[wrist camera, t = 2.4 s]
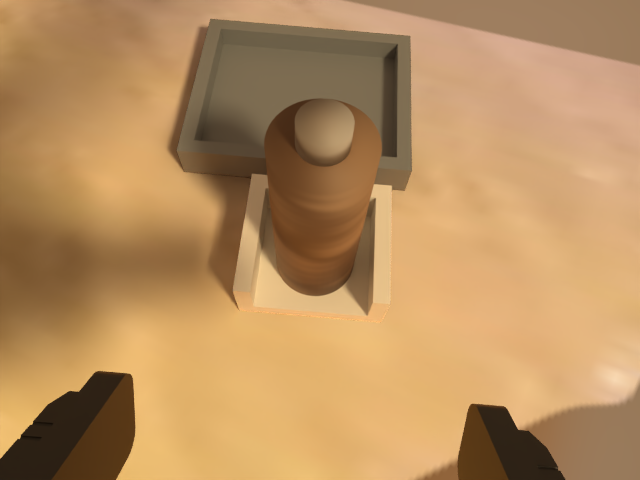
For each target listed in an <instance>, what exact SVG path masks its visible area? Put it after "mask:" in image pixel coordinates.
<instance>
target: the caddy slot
mask: <svg viewBox="0 0 640 480" xmlns="http://www.w3.org/2000/svg"><path fill="white" fill-rule="evenodd" d="M391 221H392V186H390V185H378V184H374V186H373V190H372V194H371V198H370V202H369V206H368V210H367V214H366V218H365V222H364V226H363V230H362V234H361V238H360V242H359V246H358V250H357V254H356V258H355V262H354V266H353V270H352V273H351V275H350V277H349V279H348V280H347V282H346V283H345V284H344V285H343V286H342V287H341V288H339V289H338V290H336V291H334V292H333V293H330V294H327V295H323V296H308V295H304V294H301V293H298V292H296V291H295V290H293V289H291V288H290V287H289V286H288V285H287V284H286V283H285V282H284V281H283V280H282V278H281V276H280V274H279V272H278V269H277V264H276V254H275V245H274V235H273V226H272V216H271V207H270V197H269V188H268V178H267V175H261V174H252V177H251V183H250V189H249V194H248V200H247V206H246V212H245V218H244V224H243V230H242V236H241V242H240V248H239V254H238V260H237V266H236V272H235V278H234V284H233V290H232V291H233V294H234V297H235V300H236V303H237V305H238V308H239V310H241V311H253V312H265V313H276V314H288V315H300V316H312V317H323V318H335V319H347V320H358V321H370V322H382V320H383V318H384V316H385V314H386V312H387V310H388V308H389V306H390V304H391Z"/></svg>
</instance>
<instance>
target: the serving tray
mask: <svg viewBox="0 0 640 480" xmlns="http://www.w3.org/2000/svg"><path fill="white" fill-rule="evenodd" d="M318 98H323V99H334V100H338V101H342V102H345V103H348V104H350V105H352V106H354V107H356V108H358V109H359V110H361V111H362V112H363V113H365V114H366V115H367V116H368V117H369V118H370V119H371V120H372V122H373V123H374V124H375V126H376V128H377V130H378V132H379V134H380V138H381V142H382V152H381V157H380V161H379V165H378V169H377V173H376V178H375V182H374V184H378V185H390V186H392V190H403V191H405V188H406V185H407V183H408V180H409V177H410V174H411V171H412V149H411V52H410V36H404V35H393V34H381V33H369V32H358V31H346V30H334V29H323V28H311V27H299V26H288V25H276V24H264V23H253V22H241V21H229V20H218V19H210V22H209V26H208V30H207V34H206V38H205V42H204V46H203V50H202V54H201V57H200V61H199V65H198V69H197V73H196V77H195V81H194V85H193V88H192V92H191V96H190V100H189V104H188V108H187V112H186V116H185V120H184V123H183V127H182V131H181V135H180V139H179V143H178V147H177V153H178V156H179V159H180V162H181V164H182V167H183V170H184V172H193V173H204V174H216V175H228V176H239V177H252V174H261V175H267V169H266V159H265V149H264V139H265V135H266V131H267V129H268V127H269V125H270V123H271V122H272V120H273V119H274V118H275V117H276V116H277V115H278V114H279V113H280V112H281V111H282V110H284V109H285V108H287V107H289V106H291V105H293V104H295V103H297V102H301V101H304V100H309V99H318Z"/></svg>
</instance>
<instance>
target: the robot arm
mask: <svg viewBox="0 0 640 480" xmlns="http://www.w3.org/2000/svg"><path fill="white" fill-rule="evenodd" d="M134 437H135V410H134V389H133V378H132V376H131V374H127V373H115V372H103V371H97V372H95V373H94V374H93V375H92V377H91V378H90V379H89V380H88V381H87V383H86V384H85V385H84V386H83V388H82V389H81V390H80V391H79V392H74V391H69V392H67V393H66V394H64V395H62V396H61V397H59V398H58V399H56V400H55V401H53V402H51V403H50V404H48V405H47V406H46V407H45V409H44V410H43V411H42V412H41V413H40V414H39V415H38V417H37V418H36V419H35V420H34V421H33V424H32V425H30V426H29V427H28V428H27V429H26V430H25V431H24V433H23V434H22V435H21V438H20V439H17V441H16V442H15V443H14V444H13V445H12V446H11V447H10V449H9V450H8V451H7V452H6V453H5V454H4V455H3V457H2V458H1V459H0V480H116V479H117V477H118V475H119V473H120V471H121V469H122V467H123V466H124V464H125V462H126V460H127V458H128V456H129V454H130V452H131V449H132V446H133V442H134ZM458 477H459V480H565V478H564V477H563V475H562V473H561V471H558V466H557V464H556V463H555V461H554V459H553V458H552V456H551V454H550V452H549V451H548V449H547V448H546V447H545V446H544V445H543V444H542V443H541V442H540V441H539V440H538V439H537V438H536V437H534V436H533V435H532V434H531V433H530V432H529V431H523V430H518V429H517V427H516V425H515V423H514V421H513V419H512V417H511V416H510V414H509V412H508V410H507V409H506V407H504V406H494V405H482V404H471V405H470V407H469V409H468V413H467V417H466V422H465V427H464V432H463V436H462V441H461V446H460V451H459V456H458Z"/></svg>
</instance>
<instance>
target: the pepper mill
mask: <svg viewBox="0 0 640 480" xmlns="http://www.w3.org/2000/svg"><path fill="white" fill-rule="evenodd" d="M264 149H265V159H266V169H267V178H268V188H269V197H270V207H271V216H272V226H273V235H274V245H275V254H276V264H277V269H278V272H279V274H280V276H281V278H282V280H283V281H284V282H285V283H286V284H287V285H288V286H289V287H290V288H291V289H293V290H295V291H296V292H298V293H301V294H304V295H308V296H323V295H327V294H330V293H333V292H334V291H336V290H338V289H339V288H341V287H342V286H343V285H344V284H345V283H346V282H347V280H348V279H349V277H350V275H351V273H352V270H353V266H354V262H355V258H356V254H357V250H358V246H359V242H360V238H361V234H362V230H363V226H364V222H365V218H366V214H367V210H368V206H369V202H370V198H371V194H372V190H373V186H374V182H375V178H376V173H377V169H378V165H379V161H380V157H381V152H382V142H381V138H380V134H379V132H378V130H377V128H376V126H375V124H374V123H373V122H372V120H371V119H370V118H369V117H368V116H367V115H366V114H365V113H363V112H362V111H361V110H359V109H358V108H356V107H354V106H352V105H350V104H348V103H345V102H342V101H338V100H334V99H323V98H318V99H309V100H304V101H301V102H297V103H295V104H293V105H291V106H289V107H287V108H285V109H284V110H282V111H281V112H280V113H279V114H278V115H277V116H276V117H275V118H274V119H273V120H272V122H271V123H270V125H269V127H268V129H267V131H266V135H265V139H264Z"/></svg>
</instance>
